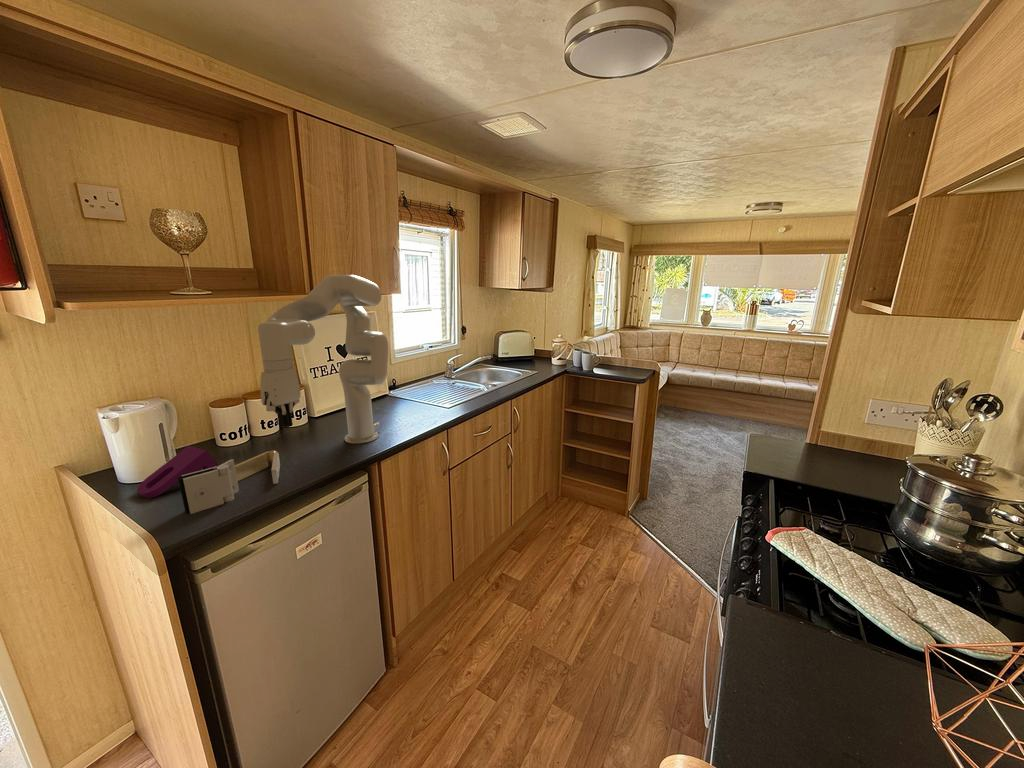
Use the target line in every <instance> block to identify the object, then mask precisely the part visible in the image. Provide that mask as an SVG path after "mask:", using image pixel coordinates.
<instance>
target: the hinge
mask: <svg viewBox="0 0 1024 768" xmlns="http://www.w3.org/2000/svg"><path fill="white" fill-rule="evenodd" d="M235 465H236V464H235V460H234V459H229V460H226V461H225V462H223V463H221V464H219V465H217V466H216V467H212V468H209V469H205V470H201V471H197V472H193V473H189V474H185V475H182V476H181V477H178V480H179V481H178V486H179V489H180V494H181V498H182V503H183V507H184V512H185V514H186V515H188V514H191V515H193V514H195V513H198V512H201V511H205V510H207V509H211V508H215V507H218V506H221V505H224V504H225V503H228V502H229V503H230V502H231V501H234V500H235V496H234V495H236V494H237V493H238V492H239V491H240V487H239V483H238V482H239V481H237V476H236V470H235Z"/></svg>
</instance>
